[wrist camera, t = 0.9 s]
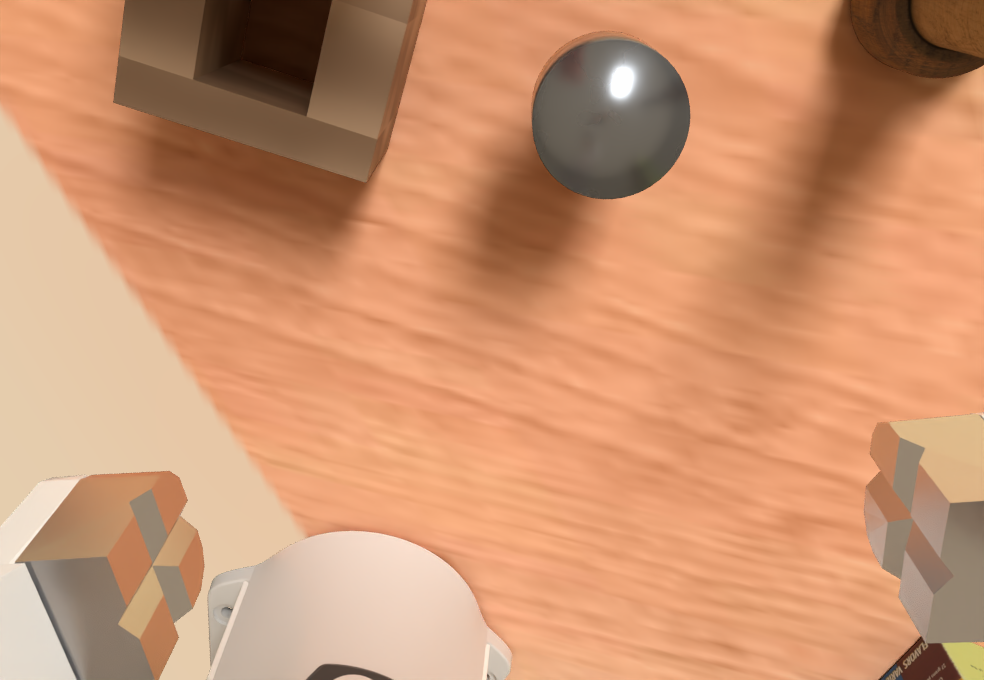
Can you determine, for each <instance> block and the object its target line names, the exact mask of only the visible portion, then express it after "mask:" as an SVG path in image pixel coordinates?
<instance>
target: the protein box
mask: <svg viewBox="0 0 984 680" xmlns="http://www.w3.org/2000/svg"><path fill="white" fill-rule="evenodd" d="M881 680H984V647H981V646H979V645H976V644H974V643H972V642H961V643H925V641H924V640H923V638H921V639H920V640H919V641H918V642H917V643H916V644H915V645H914V646H913V647H912V648H911V649H910V650H909V651H908V652H907V653H906V654H905V655H904V656H903V657H902V658H901V659H900V660H899V661H898V662H897V663H896V664H895V665H894V666H893V667H892V668H891V669H890V670H889V671H888V672H887V673H886V674H885V675H884V677H883V678H882V679H881Z"/></svg>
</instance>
